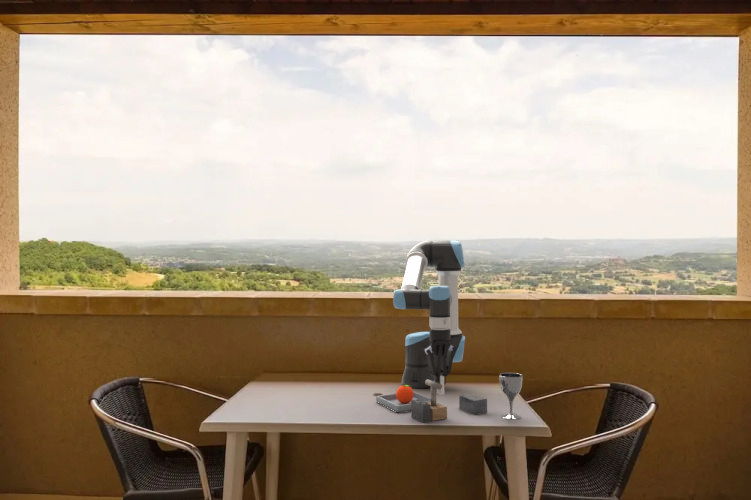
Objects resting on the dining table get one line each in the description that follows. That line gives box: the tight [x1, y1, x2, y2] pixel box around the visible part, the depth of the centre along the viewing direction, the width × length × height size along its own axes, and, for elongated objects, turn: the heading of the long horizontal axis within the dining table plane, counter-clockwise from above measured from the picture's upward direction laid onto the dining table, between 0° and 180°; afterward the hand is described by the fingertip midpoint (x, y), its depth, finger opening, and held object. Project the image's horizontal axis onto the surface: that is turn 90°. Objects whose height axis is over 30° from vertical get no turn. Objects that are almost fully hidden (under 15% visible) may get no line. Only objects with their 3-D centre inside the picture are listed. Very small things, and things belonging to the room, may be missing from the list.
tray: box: [375, 390, 431, 413], centre depth 212 cm, size 17×17×2 cm
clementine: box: [395, 385, 414, 404], centre depth 212 cm, size 8×7×7 cm
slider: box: [425, 379, 448, 422], centre depth 195 cm, size 8×6×12 cm
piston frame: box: [410, 392, 488, 424], centre depth 198 cm, size 9×28×6 cm, turn 117°
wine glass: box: [498, 372, 523, 421], centre depth 195 cm, size 8×8×15 cm
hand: (440, 393), depth 196 cm, fingers closed
